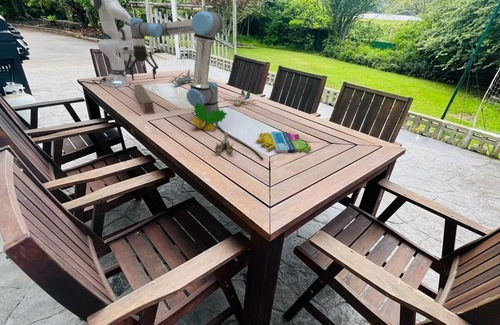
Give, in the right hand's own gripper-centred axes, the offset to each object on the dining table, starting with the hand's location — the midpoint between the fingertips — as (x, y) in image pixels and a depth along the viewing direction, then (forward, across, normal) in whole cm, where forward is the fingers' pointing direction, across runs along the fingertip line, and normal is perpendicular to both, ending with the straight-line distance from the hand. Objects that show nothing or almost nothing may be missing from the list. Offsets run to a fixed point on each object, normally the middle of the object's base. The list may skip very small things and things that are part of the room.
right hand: (143, 79), depth 178 cm
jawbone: (+21, -26, +80) cm, 87 cm away
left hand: (-2, 0, -38) cm, 38 cm away
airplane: (+21, -47, -76) cm, 92 cm away
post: (+21, 0, -19) cm, 29 cm away
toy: (+21, -75, 0) cm, 78 cm away
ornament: (+21, -30, +48) cm, 60 cm away
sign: (+21, -62, +82) cm, 105 cm away
